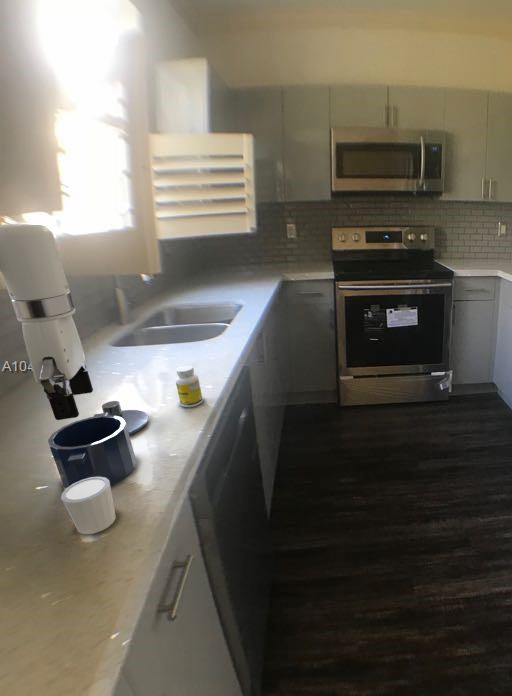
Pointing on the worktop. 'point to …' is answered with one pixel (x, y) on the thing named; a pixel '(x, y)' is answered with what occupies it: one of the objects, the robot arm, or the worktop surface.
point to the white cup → (90, 504)
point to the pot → (93, 450)
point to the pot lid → (126, 416)
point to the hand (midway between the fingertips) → (75, 404)
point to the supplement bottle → (188, 387)
